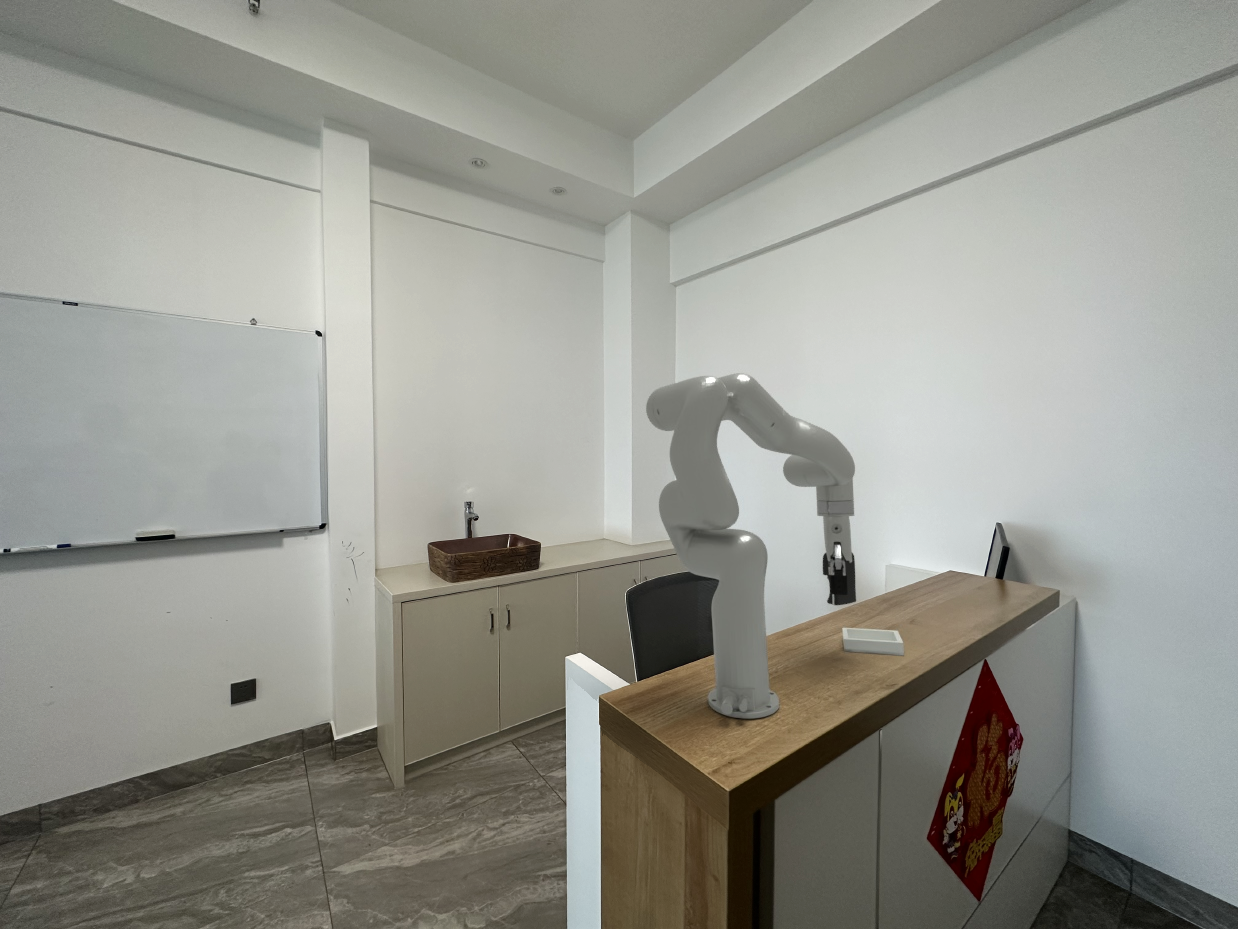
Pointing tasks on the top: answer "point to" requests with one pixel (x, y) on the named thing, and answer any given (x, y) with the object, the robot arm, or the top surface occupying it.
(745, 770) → the top surface
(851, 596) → the battery charger
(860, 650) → the tray
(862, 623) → the top surface
